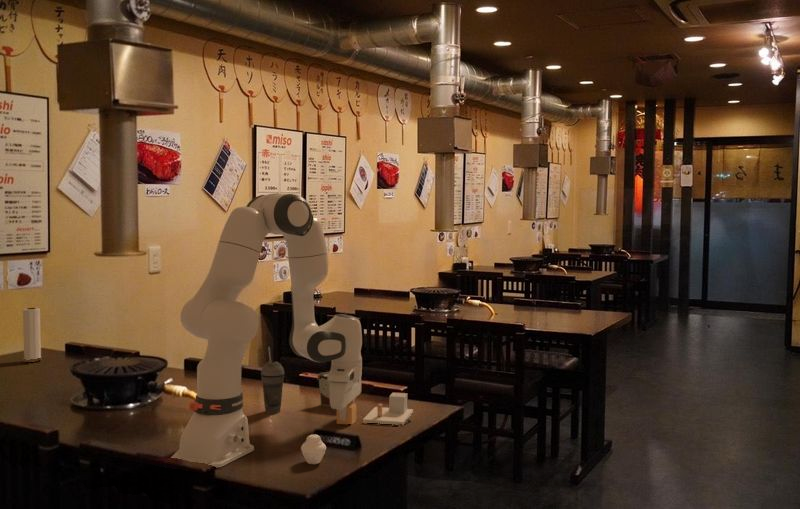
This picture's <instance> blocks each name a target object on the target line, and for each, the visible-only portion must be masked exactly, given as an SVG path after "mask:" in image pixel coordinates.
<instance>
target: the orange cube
mask: <svg viewBox="0 0 800 509" xmlns="http://www.w3.org/2000/svg"><path fill="white" fill-rule="evenodd" d="M346 413H347V419H346V420H340V413H339V410H338V409H336V425H348V424H351V426H352V425H354V423H355V422H356V421H357V403H354V404H353V403H349V404H348V405H347V408H346Z"/></svg>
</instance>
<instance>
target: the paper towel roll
mask: <svg viewBox="0 0 800 509" xmlns="http://www.w3.org/2000/svg"><path fill="white" fill-rule="evenodd" d="M22 320H23V321H22V323H23V324H22V326H23V330H22V331H23V332H22V333H23V360H24V359H26V360H30V359H37V358H41V359H42V345H41V343H42V342H41V341H42V340H41V339H42V338H41V309H40V307H28V308H27V307H25V308H23V309H22Z"/></svg>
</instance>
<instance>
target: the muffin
mask: <svg viewBox="0 0 800 509" xmlns="http://www.w3.org/2000/svg"><path fill="white" fill-rule="evenodd" d="M300 451H301V453H302V456H303V457H304V459H305V461H306V463H307V464H309V465H317V464H320V463H321V461H322V460H323V458H324V456H325V454H326V451H327V446H326V444H325V443H324V442H323V440H322V437H321V436H320V435H318V434H314V433H313V434H310V435H308V436H307V437H306V438H305V441H304V442H303V443H302V444H301V446H300Z"/></svg>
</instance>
